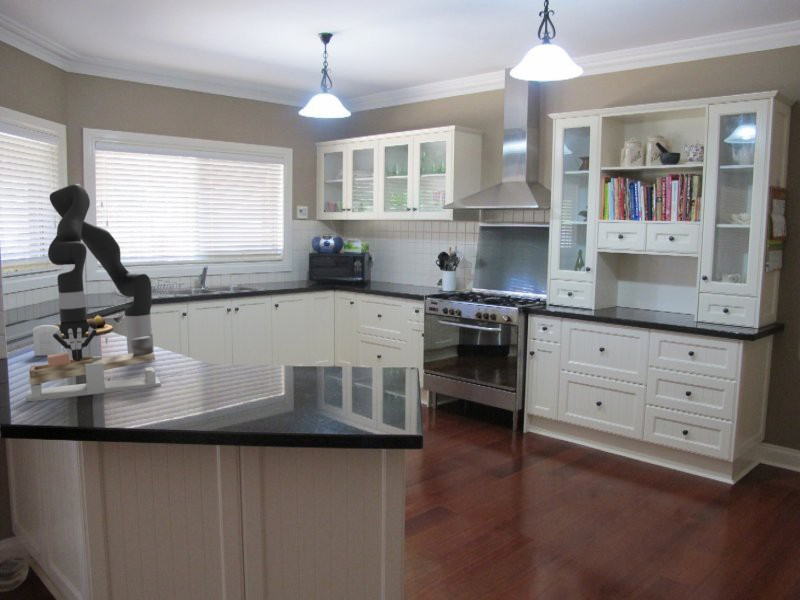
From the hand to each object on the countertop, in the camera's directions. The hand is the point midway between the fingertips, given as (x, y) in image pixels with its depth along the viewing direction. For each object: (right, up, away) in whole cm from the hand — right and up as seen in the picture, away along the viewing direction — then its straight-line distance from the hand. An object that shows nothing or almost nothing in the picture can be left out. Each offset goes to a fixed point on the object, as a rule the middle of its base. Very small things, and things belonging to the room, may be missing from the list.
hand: (77, 360), depth 210 cm
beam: (+4, -2, +3) cm, 5 cm away
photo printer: (-42, -4, +62) cm, 75 cm away
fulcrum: (+4, -9, +3) cm, 11 cm away
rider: (-4, -3, -2) cm, 5 cm away
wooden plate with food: (-56, +2, +117) cm, 129 cm away
